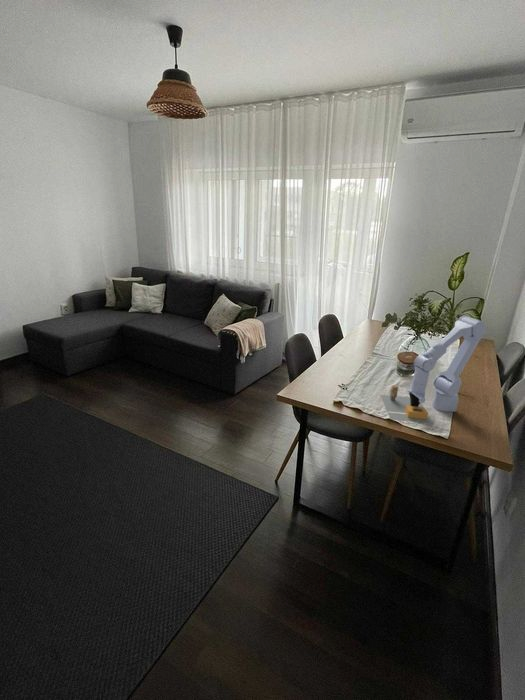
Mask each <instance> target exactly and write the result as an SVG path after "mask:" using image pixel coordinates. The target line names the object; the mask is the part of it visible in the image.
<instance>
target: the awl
mask: <svg viewBox="0 0 525 700" xmlns="http://www.w3.org/2000/svg"><path fill="white" fill-rule="evenodd" d="M398 392H399V385H395V384H393V385H391V388H390V392H389V395H390V396H391V397H390V400H392V401H395V397H397V396H398Z"/></svg>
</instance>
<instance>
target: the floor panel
mask: <svg viewBox="0 0 525 700" xmlns="http://www.w3.org/2000/svg"><path fill="white" fill-rule="evenodd" d="M379 397H380V398H381V400H382V402H383V405H384V407H385V410H386V413H387V415H388V416H389V419H390V420H392V421H403V422H414V423H415V422H416V423H423V424H424V423H425V424H433V425H434V421H433V420H432V418H431V417H430V415H429V414H428V416H427V419H420V418H410V417H407V415H406V413H405V407H406V405H407V406H411V402H410V396H400V395H399V396H398V395H397V397H395V401H392V400H390V397H391V396H390V394H380V395H379ZM418 407H424V405H423V403H420V404H419V406H418Z"/></svg>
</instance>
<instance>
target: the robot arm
mask: <svg viewBox="0 0 525 700" xmlns="http://www.w3.org/2000/svg"><path fill="white" fill-rule="evenodd" d="M486 331H487V325H486V322H485V321H484V320H483V321H482V320H479V319H476V318H473V317H470V316H468V315H462V316H460V317H459V318H458V319H457V320H456V321H455V322H454V327H453V328H452V329H451V330H450V331H449V332H448V334H447V335H445V336H444V338H443V339H442V340H441V341H440V342H435V343H433V344H432V345H431V346H430V347H429V348H428V349H427V350H426V351H424V353H422V354H418V355H417V356H416V357H415V359H414V360H413V365H414V373H413V378H412V381H411V382H410V386H409V388H408V389H407V392H408V395H409V397H410V402H411V406H419V404H420V403H422V404H423V403H424V404H425V401H426V398H425V396H426V388H427V383H428V380H429V376H430V372H431V371H432V370H433V369H434V368H435V366H436V364H437V361H438V360H439V359H441V358H442V357H443V356H444V355H445V354H446V353H447V348H448V347H450V346H451V345H453V344H454V343H455V342H456V341H458V340H459V339H460V338H462V337H463V341H462V343H461V344H460V346H459V348H458V350H457V351H456V353H455V355H454V357H453V358H452V360H451V362H450V364H449V366H448V367H447V369H446V370H444V371H440V372H439V374H438V375H437V376H436V377H435V378H434V380H433V386H434V390H435V393H434V396H433V400H432V404H431V406H432V408H433V409H435V410H436V411H440V412H457V408H458V404H459V394H458V393H459V392H460V389H461V386H462V383H463V382H462V380H461V377H460V375H461V373H462V372H463V370H464V368H465V367H466V365H467V363H468V362H469V360H470V358H471V356H472V355H473V353H474V351H475V349H476V348H477V347H478V344H479V342H480V341H481V340H482V339H483V336H484V335H485V332H486Z"/></svg>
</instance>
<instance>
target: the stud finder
mask: <svg viewBox="0 0 525 700" xmlns="http://www.w3.org/2000/svg"><path fill="white" fill-rule="evenodd" d="M405 413H406V415H407V417H410V418H420V419H427V416H428V415H429V412H428V411H427V409H426V407H425V406H423V407H418V406H407V405H406V407H405Z"/></svg>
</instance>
